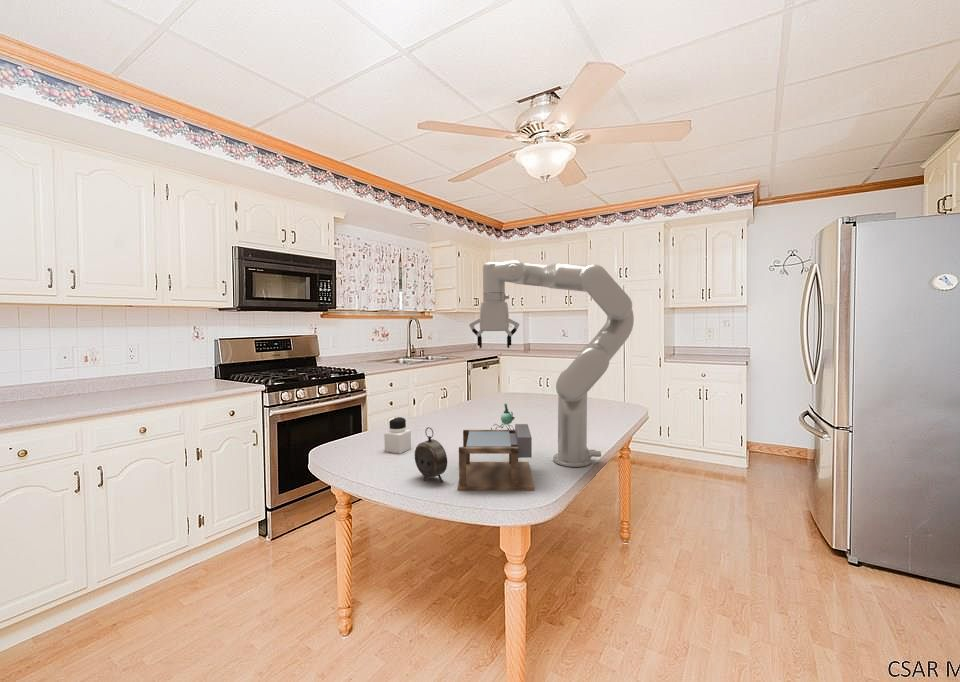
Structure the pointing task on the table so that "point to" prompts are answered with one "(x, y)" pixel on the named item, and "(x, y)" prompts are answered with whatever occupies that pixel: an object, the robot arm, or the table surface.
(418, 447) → the alarm clock
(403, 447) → the medicine bottle
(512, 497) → the table surface
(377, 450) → the table surface
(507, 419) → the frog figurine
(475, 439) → the trapdoor
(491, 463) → the frame
